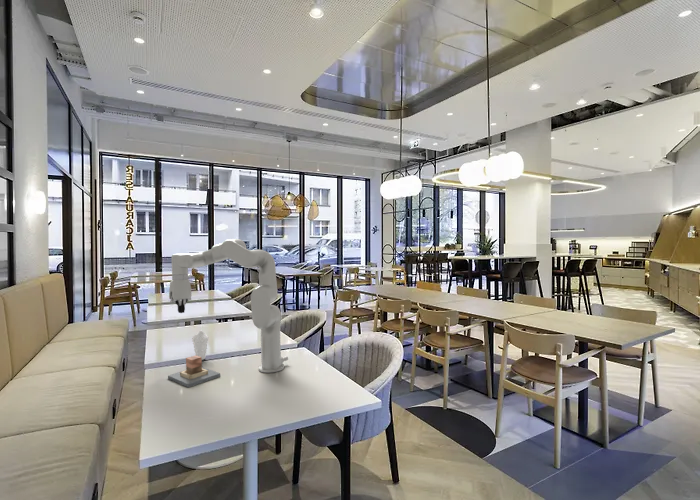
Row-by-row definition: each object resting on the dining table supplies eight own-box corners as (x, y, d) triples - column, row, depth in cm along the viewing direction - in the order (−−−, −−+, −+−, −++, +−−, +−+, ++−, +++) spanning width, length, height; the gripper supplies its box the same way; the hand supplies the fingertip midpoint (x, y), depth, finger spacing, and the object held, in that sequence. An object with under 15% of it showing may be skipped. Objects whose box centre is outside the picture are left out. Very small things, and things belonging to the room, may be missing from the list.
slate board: (199, 368, 191) (199, 362, 191) (220, 376, 180) (220, 370, 180) (168, 378, 178) (167, 372, 178) (188, 387, 167) (187, 380, 167)
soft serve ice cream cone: (189, 360, 204) (188, 331, 204) (200, 355, 212) (199, 327, 211) (201, 362, 201) (200, 332, 200) (212, 357, 209) (211, 328, 208)
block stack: (196, 371, 182) (195, 355, 182) (202, 373, 179) (201, 357, 179) (186, 374, 179) (185, 358, 178) (192, 377, 175) (191, 360, 175)
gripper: (189, 275, 205) (191, 309, 206) (162, 278, 193) (163, 314, 194) (197, 276, 200) (198, 311, 201) (169, 279, 189) (170, 316, 189)
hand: (181, 312), depth 198 cm, fingers closed
